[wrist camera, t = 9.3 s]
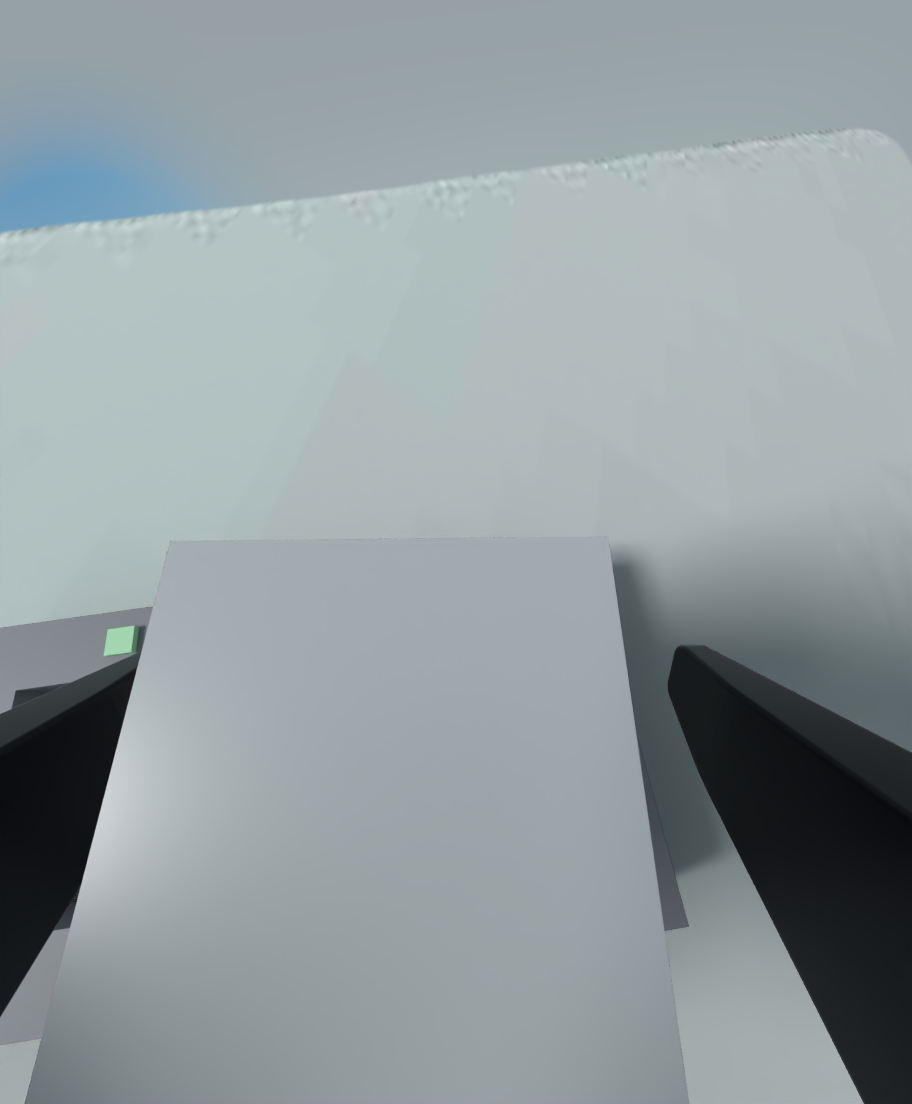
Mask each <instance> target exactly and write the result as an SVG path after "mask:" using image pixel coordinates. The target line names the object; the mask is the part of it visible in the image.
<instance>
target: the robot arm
mask: <svg viewBox="0 0 912 1104" xmlns="http://www.w3.org/2000/svg"><path fill="white" fill-rule="evenodd" d="M141 652H142V651H140V652H138V653H136V654H134V655H131V656H129V657H127V658H125V659H122V660H120V661H118V662H116V663H113V664H111V665H109V666H107V667H104V668H102V669H100V670H98V671H95V672H93V673H91V674H89V675H86V676H84V677H82V678H80V679H77V680H75V681H73V682H71V683H68V684H66V685H64V686H62V687H59V688H57V689H55V690H53V691H50V692H48V693H46V694H44V695H41V696H39V697H37V698H35V699H32V700H30V701H28V702H26V703H23V704H21V705H19V706H17V707H14V708H12V709H10V710H8V711H5V712H3V713H1V714H0V1017H1V1016H2V1014H3V1012H4V1011H5V1009H6V1007H7V1006H8V1004H9V1003H10V1001H11V999H12V998H13V996H14V994H15V993H16V991H17V989H18V988H19V986H20V985H21V983H22V981H23V980H24V978H25V976H26V975H27V973H28V971H29V970H30V968H31V967H32V965H33V963H34V962H35V960H36V958H37V957H38V955H39V953H40V952H41V950H42V949H43V947H44V945H45V944H46V942H47V940H48V939H49V937H50V935H51V934H52V932H53V931H54V929H55V927H56V926H57V924H58V922H59V921H60V919H61V917H62V916H63V914H64V913H65V911H66V909H67V908H68V906H69V904H70V903H71V901H72V899H73V898H74V896H75V895H76V893H77V891H78V890H79V888H80V886H81V884H82V880H83V876H84V872H85V868H86V865H87V861H88V857H89V853H90V849H91V845H92V841H93V837H94V834H95V830H96V826H97V822H98V818H99V814H100V810H101V807H102V803H103V799H104V795H105V791H106V787H107V783H108V779H109V776H110V772H111V768H112V764H113V760H114V756H115V752H116V749H117V745H118V741H119V737H120V733H121V729H122V725H123V721H124V718H125V714H126V710H127V706H128V702H129V698H130V694H131V691H132V687H133V683H134V679H135V675H136V671H137V667H138V663H139V660H140V656H141ZM668 692H669V696H670V699H671V701H672V704H673V706H674V709H675V712H676V714H677V717H678V720H679V722H680V725H681V728H682V730H683V733H684V735H685V738H686V741H687V743H688V746H689V749H690V751H691V754H692V757H693V759H694V762H695V764H696V767H697V769H698V772H699V774H700V776H701V779H702V781H703V783H704V785H705V787H706V789H707V791H708V793H709V795H710V797H711V799H712V801H713V803H714V805H715V807H716V809H717V811H718V813H719V815H720V817H721V819H722V821H723V823H724V825H725V827H726V829H727V831H728V833H729V835H730V837H731V839H732V841H733V843H734V845H735V847H736V849H737V851H738V853H739V855H740V857H741V859H742V861H743V863H744V865H745V867H746V869H747V871H748V873H749V875H750V877H751V879H752V881H753V883H754V885H755V887H756V889H757V891H758V893H759V895H760V897H761V899H762V901H763V903H764V905H765V907H766V909H767V911H768V913H769V915H770V917H771V919H772V921H773V923H774V925H775V927H776V929H777V931H778V933H779V935H780V937H781V939H782V941H783V943H784V945H785V947H786V949H787V951H788V953H789V955H790V957H791V959H792V961H793V963H794V965H795V967H796V969H797V971H798V973H799V975H800V977H801V979H802V981H803V983H804V985H805V987H806V989H807V991H808V993H809V995H810V997H811V999H812V1001H813V1003H814V1005H815V1007H816V1009H817V1011H818V1013H819V1015H820V1017H821V1019H822V1021H823V1023H824V1025H825V1027H826V1029H827V1031H828V1033H829V1035H830V1037H831V1039H832V1041H833V1043H834V1045H835V1047H836V1049H837V1051H838V1053H839V1055H840V1057H841V1059H842V1061H843V1063H844V1065H845V1067H846V1069H847V1071H848V1073H849V1075H850V1077H851V1079H852V1081H853V1083H854V1085H855V1087H856V1089H857V1091H858V1093H859V1095H860V1097H861V1099H862V1101H863V1103H864V1104H912V753H911V752H909V751H907V750H905V749H903V748H902V747H900V746H898V745H896V744H894V743H892V742H890V741H888V740H886V739H884V738H882V737H880V736H878V735H876V734H874V733H873V732H871V731H869V730H867V729H865V728H863V727H861V726H859V725H857V724H855V723H853V722H851V721H849V720H847V719H845V718H843V717H842V716H840V715H838V714H836V713H834V712H832V711H830V710H828V709H826V708H824V707H822V706H820V705H818V704H816V703H814V702H813V701H811V700H809V699H807V698H805V697H803V696H801V695H799V694H797V693H795V692H793V691H791V690H789V689H787V688H785V687H784V686H782V685H780V684H778V683H776V682H774V681H772V680H770V679H768V678H766V677H764V676H762V675H760V674H758V673H756V672H755V671H753V670H751V669H749V668H747V667H745V666H743V665H741V664H739V663H737V662H735V661H733V660H731V659H729V658H727V657H726V656H724V655H722V654H720V653H718V652H716V651H714V650H712V649H710V648H708V647H706V646H704V645H680V646H679V647H677V649H676V650H675V653H674V658H673V662H672V666H671V671H670V675H669V680H668Z"/></svg>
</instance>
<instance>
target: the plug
mask: <svg viewBox="0 0 912 1104" xmlns="http://www.w3.org/2000/svg"><path fill="white" fill-rule="evenodd" d="M25 1104H689V1099H688V1092H687V1085H686V1078H685V1071H684V1064H683V1057H682V1050H681V1043H680V1036H679V1029H678V1022H677V1015H676V1008H675V1001H674V994H673V987H672V980H671V973H670V966H669V959H668V952H667V945H666V938H665V931H664V924H663V917H662V910H661V903H660V896H659V889H658V882H657V875H656V868H655V861H654V854H653V847H652V840H651V833H650V826H649V819H648V812H647V805H646V798H645V791H644V784H643V777H642V770H641V763H640V756H639V749H638V742H637V735H636V728H635V721H634V714H633V707H632V700H631V693H630V686H629V679H628V672H627V665H626V658H625V651H624V644H623V637H622V630H621V623H620V616H619V609H618V602H617V595H616V588H615V581H614V574H613V567H612V560H611V553H610V546H609V539H608V537H539V538H435V539H331V540H226V541H170V544H169V548H168V551H167V555H166V559H165V563H164V567H163V571H162V575H161V578H160V582H159V586H158V590H157V594H156V598H155V602H154V606H153V609H152V613H151V617H150V621H149V625H148V629H147V633H146V636H145V640H144V644H143V648H142V652H141V656H140V660H139V663H138V667H137V671H136V675H135V679H134V683H133V687H132V691H131V694H130V698H129V702H128V706H127V710H126V714H125V718H124V721H123V725H122V729H121V733H120V737H119V741H118V745H117V749H116V752H115V756H114V760H113V764H112V768H111V772H110V776H109V779H108V783H107V787H106V791H105V795H104V799H103V803H102V807H101V810H100V814H99V818H98V822H97V826H96V830H95V834H94V837H93V841H92V845H91V849H90V853H89V857H88V861H87V865H86V868H85V872H84V876H83V880H82V884H81V888H80V892H79V895H78V899H77V903H76V907H75V911H74V915H73V919H72V922H71V926H70V930H69V934H68V938H67V942H66V946H65V950H64V953H63V957H62V961H61V965H60V969H59V973H58V977H57V980H56V984H55V988H54V992H53V996H52V1000H51V1004H50V1008H49V1011H48V1015H47V1019H46V1023H45V1027H44V1031H43V1035H42V1038H41V1042H40V1046H39V1050H38V1054H37V1058H36V1062H35V1066H34V1069H33V1073H32V1077H31V1081H30V1085H29V1089H28V1093H27V1096H26V1100H25Z"/></svg>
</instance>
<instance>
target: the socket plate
mask: <svg viewBox="0 0 912 1104" xmlns="http://www.w3.org/2000/svg"><path fill="white" fill-rule="evenodd" d="M152 609H153V607H146V608H139V609H132V610H125V611H117V612H110V613H103V614H96V615H89V616H82V617H74V618H67V619H60V620H53V621H46V622H39V623H32V624H24V625H17V626H10V627H3V628H0V714H1V713H3V712H5V711H8V710H10V709H12V708H14V707H17V706H19V705H21V704H23V703H26V702H28V701H30V700H32V699H35V698H37V697H39V696H41V695H44V694H46V693H48V692H50V691H53V690H55V689H57V688H59V687H62V686H64V685H66V684H68V683H71V682H73V681H75V680H77V679H80V678H82V677H84V676H86V675H89V674H91V673H93V672H95V671H98V670H100V669H102V668H104V667H107V666H109V665H111V664H113V663H116V662H118V661H120V660H122V659H125V658H127V657H129V656H131V655H134V654H136V653H138V652H140V651H142V648H143V644H144V640H145V636H146V633H147V629H148V625H149V621H150V617H151V613H152ZM636 735H637V734H636ZM637 742H638V749H639V756H640V763H641V770H642V777H643V784H644V791H645V798H646V805H647V812H648V819H649V826H650V833H651V840H652V847H653V854H654V861H655V868H656V875H657V882H658V889H659V896H660V903H661V910H662V917H663V924H664V931H666V930H672V929H678V928H683V927H689V925H688V921H687V918H686V914H685V910H684V907H683V903H682V899H681V896H680V892H679V888H678V885H677V881H676V877H675V874H674V870H673V866H672V863H671V859H670V855H669V852H668V848H667V844H666V841H665V837H664V833H663V830H662V826H661V822H660V819H659V815H658V811H657V807H656V804H655V800H654V796H653V793H652V789H651V785H650V782H649V778H648V774H647V771H646V767H645V763H644V760H643V756H642V752H641V749H640V745H639V741H638V738H637ZM76 903H77V901H75V902H71V903H70V904H69V906H68V908H67V909H66V911H65V913H64V914H63V916H62V917H61V919H60V921H59V922H58V924H57V926H56V927H55V929H54V931H53V932H52V934H51V935H50V937H49V939H48V940H47V942H46V944H45V945H44V947H43V949H42V950H41V952H40V953H39V955H38V957H37V958H36V960H35V962H34V963H33V965H32V967H31V968H30V970H29V971H28V973H27V975H26V976H25V978H24V980H23V981H22V983H21V985H20V986H19V988H18V989H17V991H16V993H15V994H14V996H13V998H12V999H11V1001H10V1003H9V1004H8V1006H7V1007H6V1009H5V1011H4V1012H3V1014H2V1016H1V1017H0V1045H5V1044H11V1043H17V1042H23V1041H28V1040H34V1039H40V1038H42V1035H43V1031H44V1027H45V1023H46V1019H47V1015H48V1011H49V1008H50V1004H51V1000H52V996H53V992H54V988H55V984H56V980H57V977H58V973H59V969H60V965H61V961H62V957H63V953H64V950H65V946H66V942H67V938H68V934H69V930H70V926H71V922H72V919H73V915H74V911H75V907H76Z"/></svg>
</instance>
